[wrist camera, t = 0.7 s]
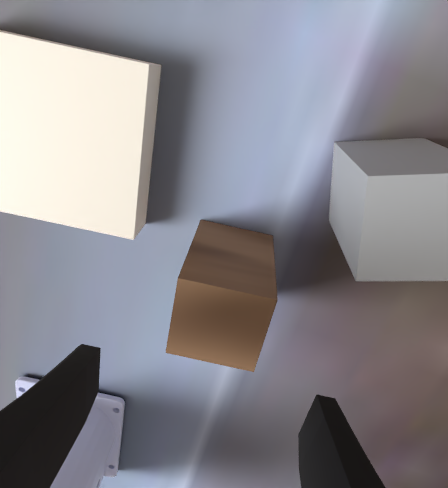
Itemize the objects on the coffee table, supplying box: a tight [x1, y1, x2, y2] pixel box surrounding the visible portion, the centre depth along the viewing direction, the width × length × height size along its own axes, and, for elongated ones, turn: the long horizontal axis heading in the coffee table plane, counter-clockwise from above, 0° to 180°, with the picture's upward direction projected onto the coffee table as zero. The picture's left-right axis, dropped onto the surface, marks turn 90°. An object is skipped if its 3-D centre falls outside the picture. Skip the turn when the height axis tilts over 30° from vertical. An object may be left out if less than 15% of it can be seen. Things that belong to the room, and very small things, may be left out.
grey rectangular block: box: [329, 138, 448, 281], centre depth 15 cm, size 4×4×6 cm
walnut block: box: [166, 220, 277, 372], centre depth 18 cm, size 4×4×6 cm
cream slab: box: [0, 30, 161, 240], centre depth 17 cm, size 8×8×2 cm
